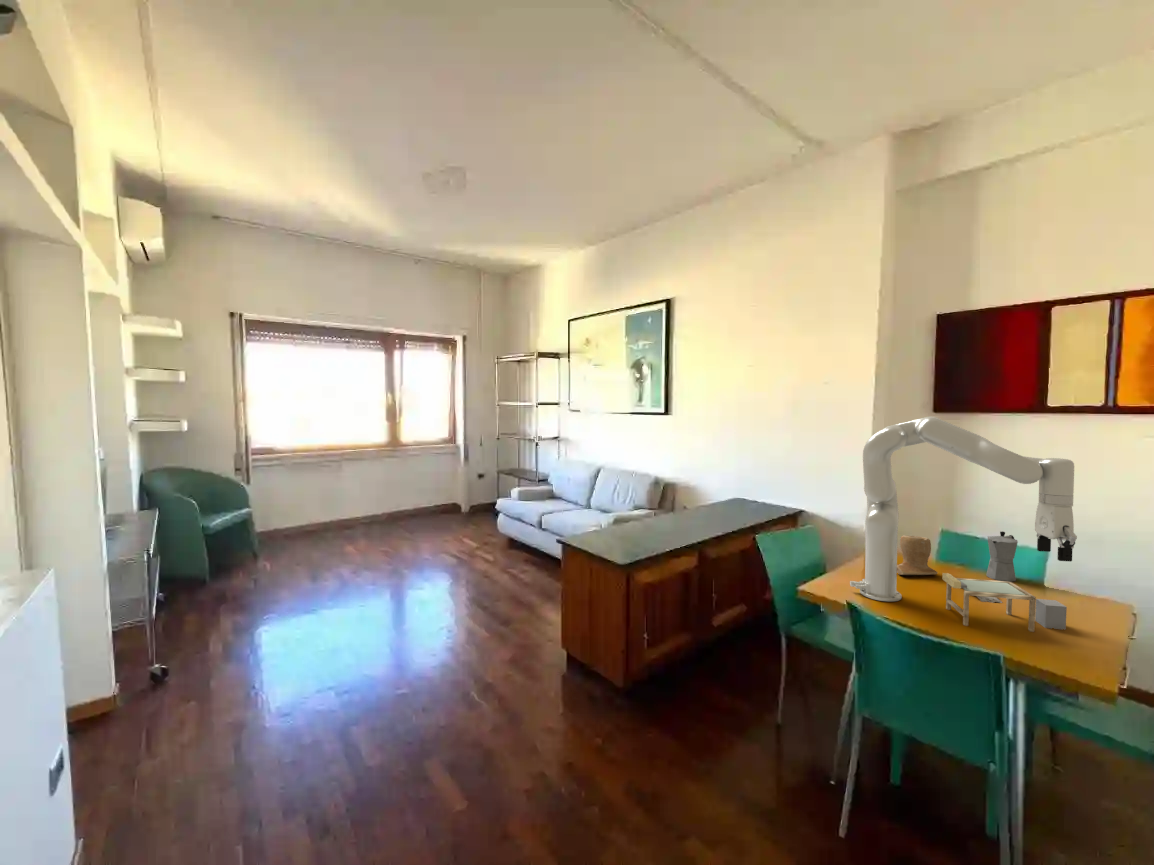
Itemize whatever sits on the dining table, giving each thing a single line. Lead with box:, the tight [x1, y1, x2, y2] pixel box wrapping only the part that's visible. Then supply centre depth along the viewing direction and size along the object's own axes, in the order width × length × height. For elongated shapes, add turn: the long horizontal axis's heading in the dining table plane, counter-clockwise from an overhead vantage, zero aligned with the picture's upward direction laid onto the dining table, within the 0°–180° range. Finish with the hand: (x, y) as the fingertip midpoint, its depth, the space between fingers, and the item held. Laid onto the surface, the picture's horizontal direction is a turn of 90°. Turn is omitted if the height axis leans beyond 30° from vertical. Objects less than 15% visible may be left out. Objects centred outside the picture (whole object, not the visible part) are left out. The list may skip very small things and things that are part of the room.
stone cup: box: [897, 535, 939, 576], centre depth 198 cm, size 15×12×15 cm
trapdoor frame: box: [945, 577, 1037, 633], centre depth 156 cm, size 18×13×10 cm
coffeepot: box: [986, 531, 1019, 583], centre depth 192 cm, size 15×9×18 cm, turn 118°
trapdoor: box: [941, 572, 1025, 595], centre depth 156 cm, size 18×10×3 cm, turn 74°
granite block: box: [1035, 598, 1068, 631], centre depth 152 cm, size 5×5×7 cm
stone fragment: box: [975, 596, 1003, 604], centre depth 181 cm, size 25×3×10 cm
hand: (1053, 555), depth 151 cm, fingers open, 9 cm apart
